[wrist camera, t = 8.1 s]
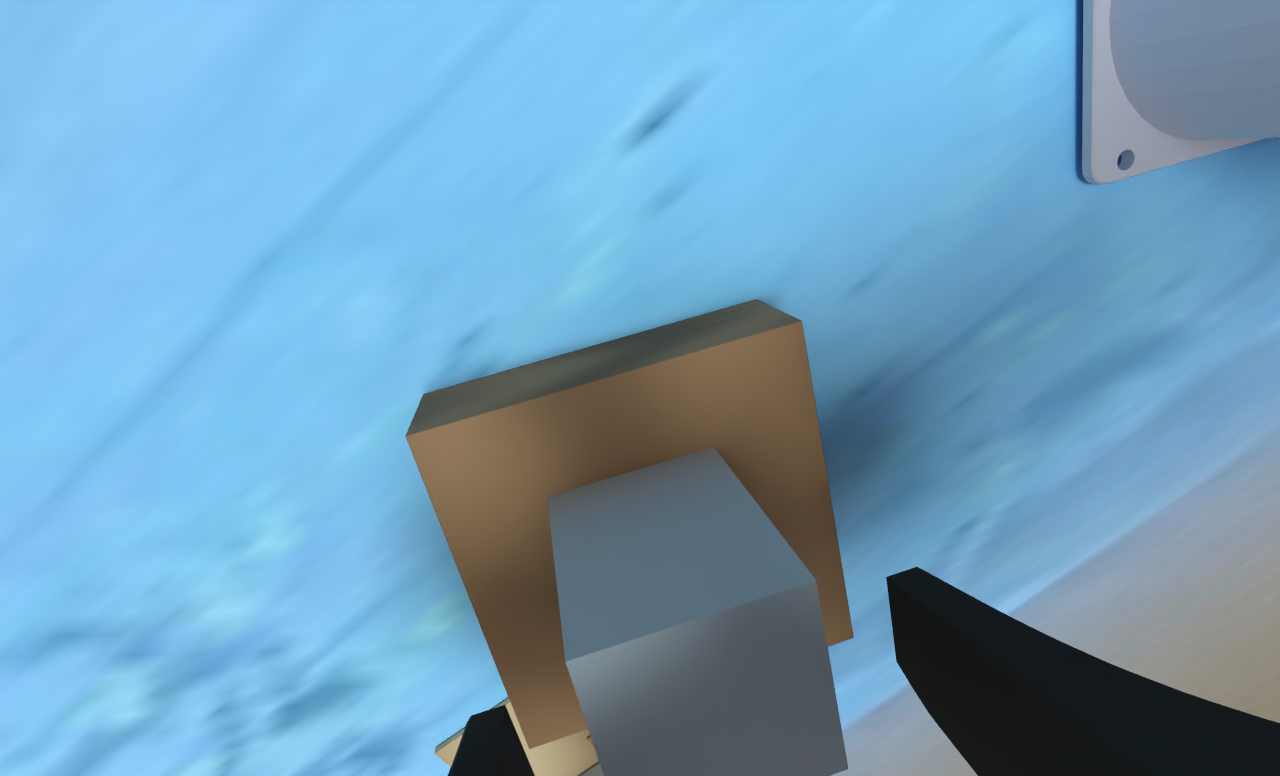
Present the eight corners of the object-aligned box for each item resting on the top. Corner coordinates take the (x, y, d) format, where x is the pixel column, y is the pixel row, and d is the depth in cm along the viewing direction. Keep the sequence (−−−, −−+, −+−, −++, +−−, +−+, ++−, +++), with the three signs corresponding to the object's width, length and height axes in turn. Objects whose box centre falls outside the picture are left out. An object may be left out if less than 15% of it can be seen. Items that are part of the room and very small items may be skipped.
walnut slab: (755, 299, 18) (801, 320, 15) (806, 575, 21) (853, 637, 18) (423, 393, 17) (405, 436, 14) (526, 668, 20) (529, 749, 17)
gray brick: (714, 446, 15) (816, 580, 10) (744, 587, 17) (848, 768, 12) (547, 497, 15) (565, 661, 10) (591, 636, 16) (628, 847, 11)
